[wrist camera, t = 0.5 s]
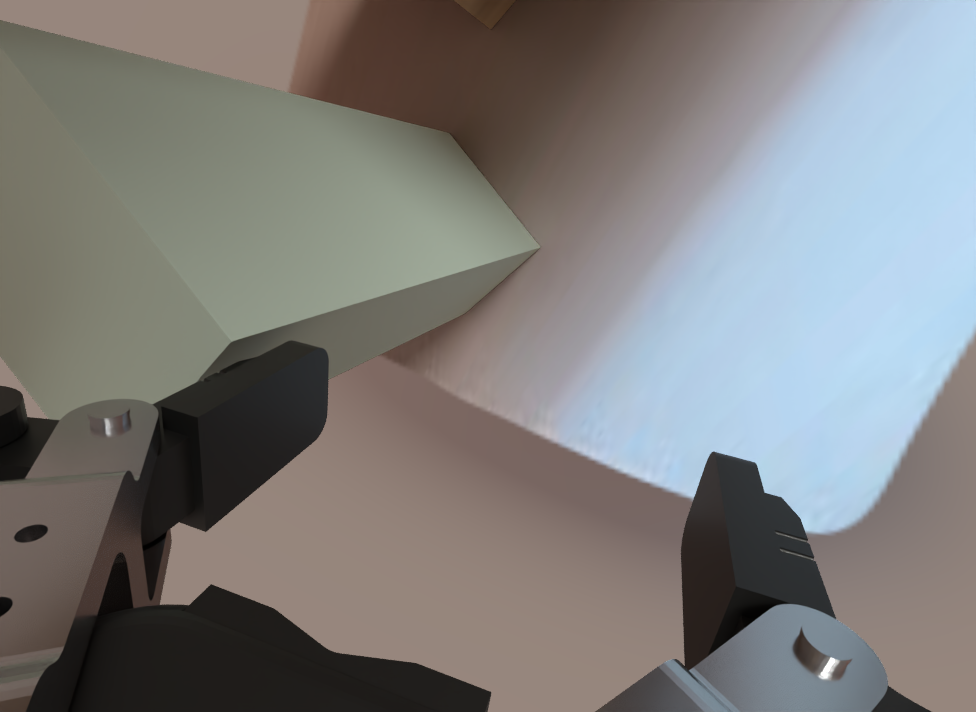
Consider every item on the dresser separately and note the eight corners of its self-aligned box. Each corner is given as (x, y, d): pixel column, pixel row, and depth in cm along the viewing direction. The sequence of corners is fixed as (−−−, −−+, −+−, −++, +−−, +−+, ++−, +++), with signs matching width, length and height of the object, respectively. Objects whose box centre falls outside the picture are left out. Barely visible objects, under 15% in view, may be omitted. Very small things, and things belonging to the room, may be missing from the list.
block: (449, 132, 31) (-26, 14, 11) (540, 247, 30) (230, 341, 11) (381, 207, 33) (-103, 223, 13) (464, 313, 33) (102, 488, 13)
